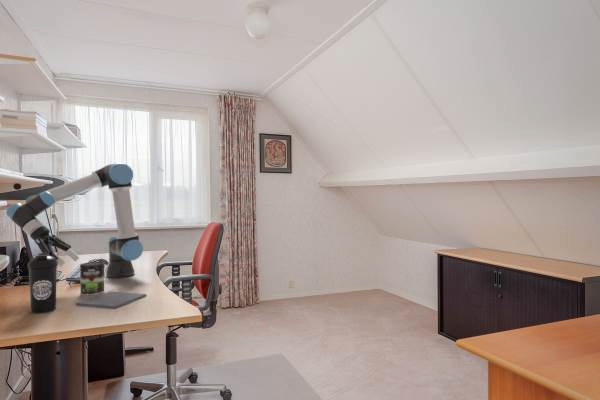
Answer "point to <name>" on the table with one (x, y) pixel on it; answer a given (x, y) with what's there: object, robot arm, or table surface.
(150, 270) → the table surface
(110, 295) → the rubber mat
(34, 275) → the water bottle
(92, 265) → the coffee can
